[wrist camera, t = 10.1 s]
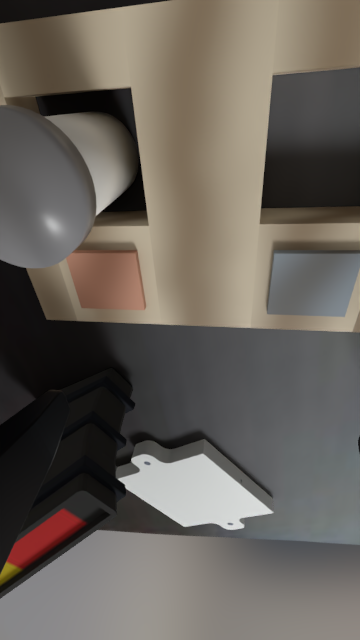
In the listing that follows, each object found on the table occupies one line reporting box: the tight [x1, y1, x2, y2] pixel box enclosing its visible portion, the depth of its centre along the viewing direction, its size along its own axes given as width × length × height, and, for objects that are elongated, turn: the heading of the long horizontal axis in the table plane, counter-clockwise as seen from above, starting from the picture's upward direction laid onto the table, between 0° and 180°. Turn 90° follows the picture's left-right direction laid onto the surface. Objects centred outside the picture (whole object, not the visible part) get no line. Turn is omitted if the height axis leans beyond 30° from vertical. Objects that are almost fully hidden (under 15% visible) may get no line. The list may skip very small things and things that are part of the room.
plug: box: [0, 105, 139, 268], centre depth 13 cm, size 5×5×8 cm
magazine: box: [0, 368, 135, 598], centre depth 24 cm, size 4×13×15 cm, turn 125°
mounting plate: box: [116, 439, 274, 530], centre depth 35 cm, size 18×13×2 cm
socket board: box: [0, 0, 360, 332], centre depth 15 cm, size 21×14×3 cm, turn 94°
